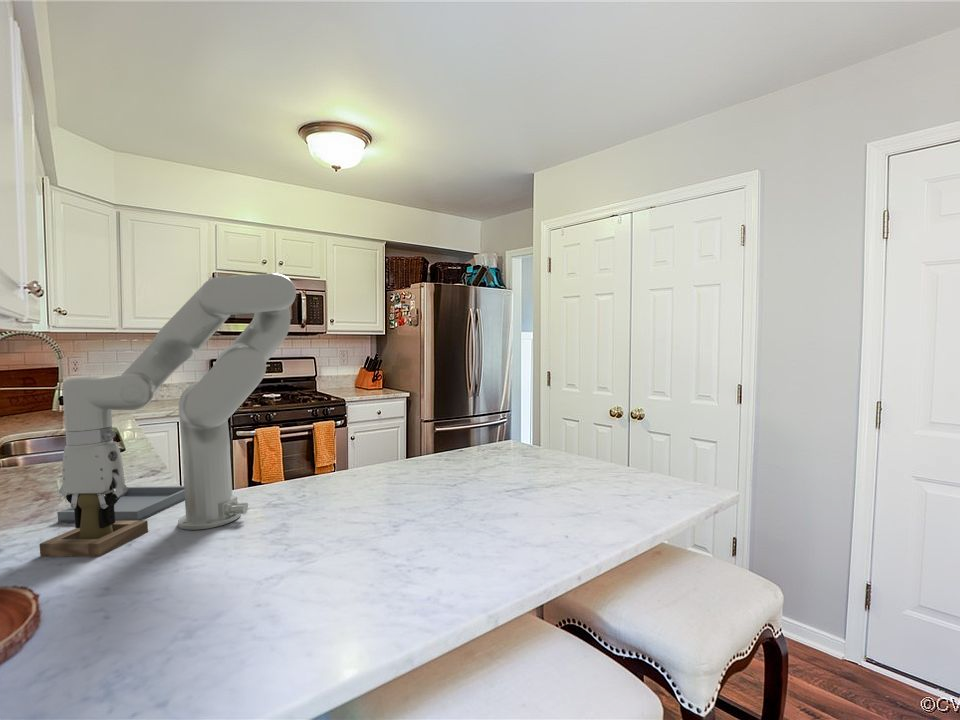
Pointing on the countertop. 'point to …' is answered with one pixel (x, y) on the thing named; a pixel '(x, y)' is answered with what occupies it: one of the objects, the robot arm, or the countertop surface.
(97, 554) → the socket block
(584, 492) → the countertop surface
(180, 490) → the tray
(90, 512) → the cork
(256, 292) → the robot arm
